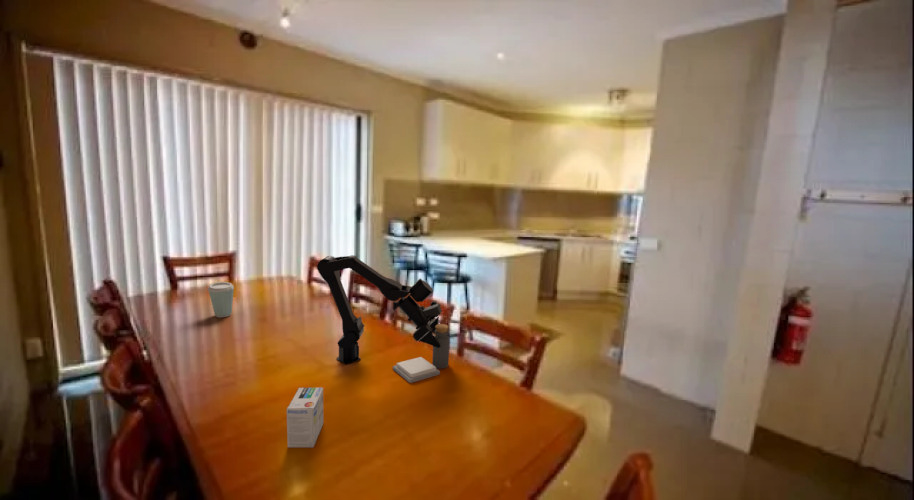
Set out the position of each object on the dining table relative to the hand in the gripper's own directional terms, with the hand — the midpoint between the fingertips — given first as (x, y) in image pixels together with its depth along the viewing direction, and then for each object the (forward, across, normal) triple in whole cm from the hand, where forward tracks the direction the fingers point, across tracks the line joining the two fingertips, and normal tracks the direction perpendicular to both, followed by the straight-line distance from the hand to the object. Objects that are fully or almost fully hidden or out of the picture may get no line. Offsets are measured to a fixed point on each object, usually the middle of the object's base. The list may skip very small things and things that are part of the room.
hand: (442, 342), depth 151 cm
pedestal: (+1, -7, +12) cm, 14 cm away
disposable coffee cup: (-71, +28, +83) cm, 113 cm away
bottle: (+6, 0, +7) cm, 9 cm away
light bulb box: (-13, -48, +26) cm, 56 cm away
